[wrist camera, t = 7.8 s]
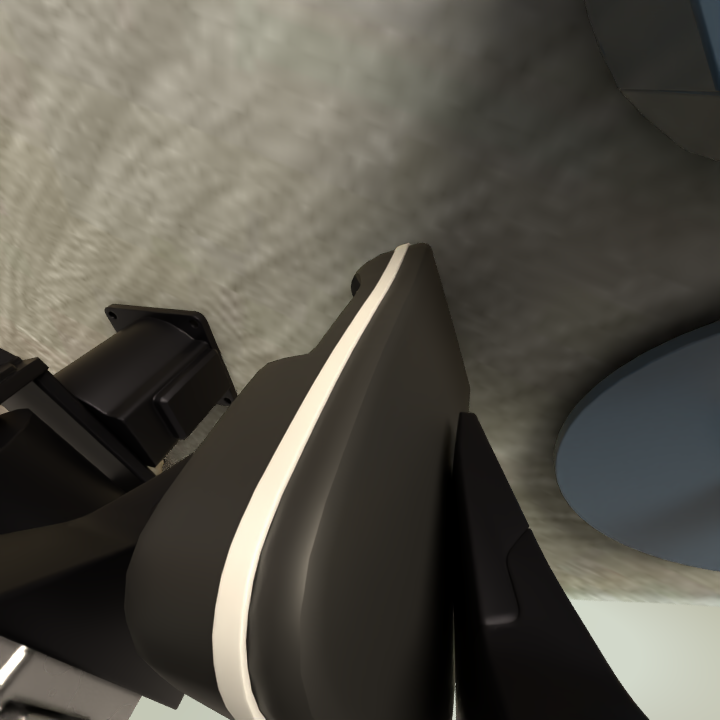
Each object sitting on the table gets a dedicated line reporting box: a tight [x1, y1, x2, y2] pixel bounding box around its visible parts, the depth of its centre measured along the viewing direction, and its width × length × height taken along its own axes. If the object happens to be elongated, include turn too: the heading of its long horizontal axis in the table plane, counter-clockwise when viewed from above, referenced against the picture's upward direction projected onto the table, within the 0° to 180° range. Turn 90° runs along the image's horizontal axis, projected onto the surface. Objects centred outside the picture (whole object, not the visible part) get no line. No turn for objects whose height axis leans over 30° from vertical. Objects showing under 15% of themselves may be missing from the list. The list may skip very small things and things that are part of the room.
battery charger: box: [124, 243, 470, 720], centre depth 9 cm, size 7×4×11 cm, turn 22°
